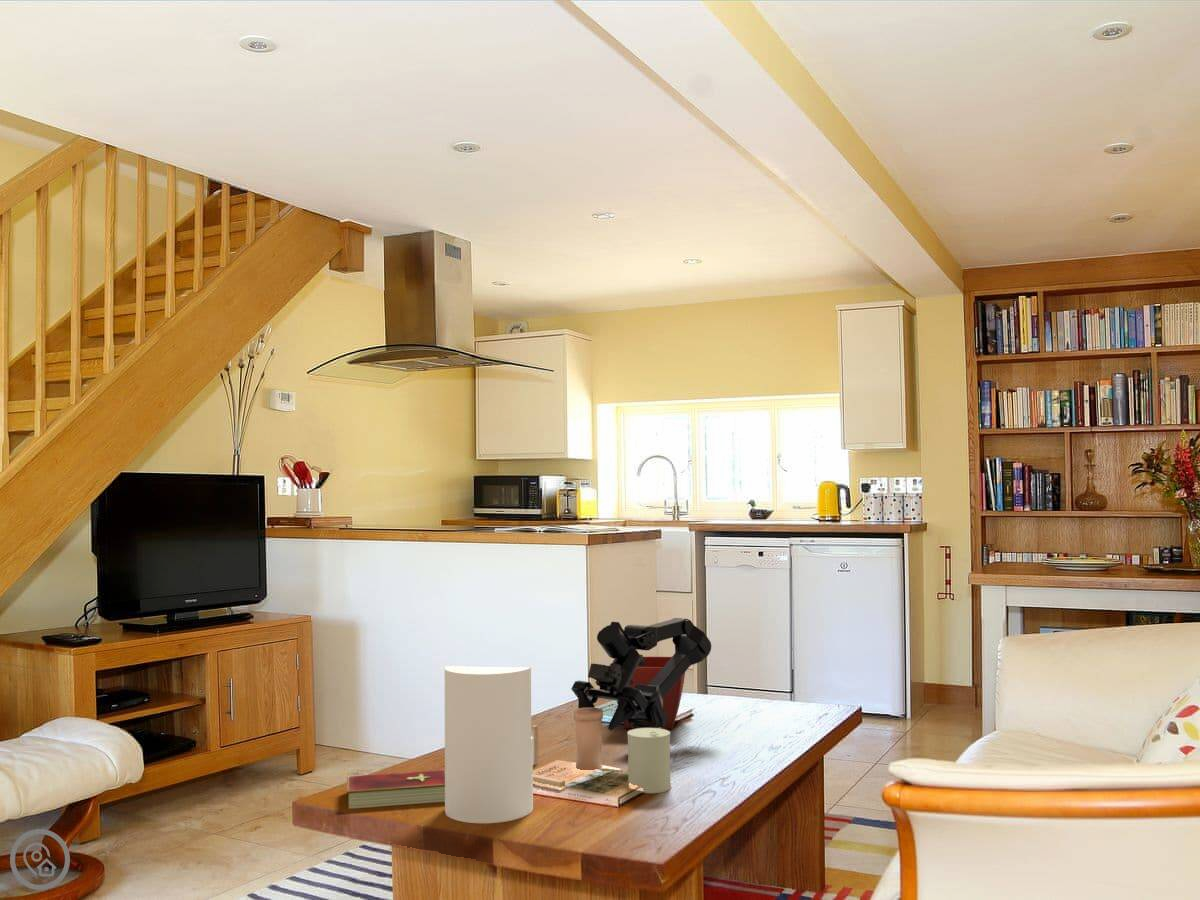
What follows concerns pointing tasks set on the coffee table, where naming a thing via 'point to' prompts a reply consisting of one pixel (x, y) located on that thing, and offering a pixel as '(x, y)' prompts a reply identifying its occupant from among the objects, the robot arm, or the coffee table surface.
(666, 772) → the can
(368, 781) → the hardcover book
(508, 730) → the cylinder
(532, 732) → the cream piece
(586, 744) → the tan tall round cup
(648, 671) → the plant pot
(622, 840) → the coffee table surface
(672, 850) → the coffee table surface
